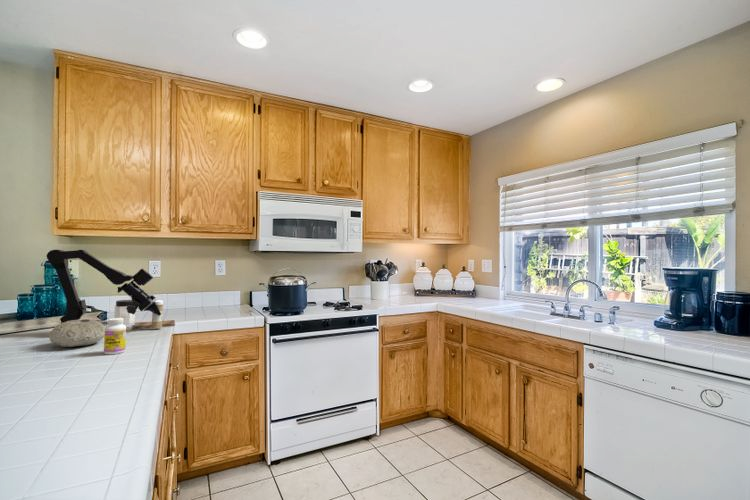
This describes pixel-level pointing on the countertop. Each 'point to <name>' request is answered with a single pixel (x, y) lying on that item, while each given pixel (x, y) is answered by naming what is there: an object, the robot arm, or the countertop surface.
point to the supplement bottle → (115, 337)
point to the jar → (124, 311)
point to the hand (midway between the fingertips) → (160, 314)
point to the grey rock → (77, 333)
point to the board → (149, 324)
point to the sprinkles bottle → (156, 318)
